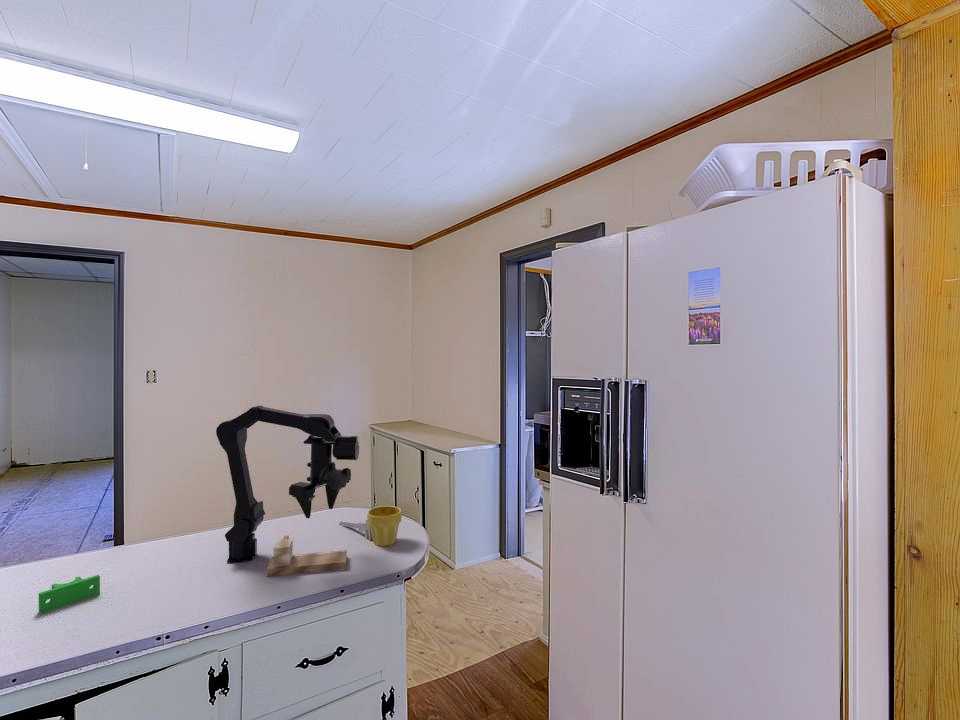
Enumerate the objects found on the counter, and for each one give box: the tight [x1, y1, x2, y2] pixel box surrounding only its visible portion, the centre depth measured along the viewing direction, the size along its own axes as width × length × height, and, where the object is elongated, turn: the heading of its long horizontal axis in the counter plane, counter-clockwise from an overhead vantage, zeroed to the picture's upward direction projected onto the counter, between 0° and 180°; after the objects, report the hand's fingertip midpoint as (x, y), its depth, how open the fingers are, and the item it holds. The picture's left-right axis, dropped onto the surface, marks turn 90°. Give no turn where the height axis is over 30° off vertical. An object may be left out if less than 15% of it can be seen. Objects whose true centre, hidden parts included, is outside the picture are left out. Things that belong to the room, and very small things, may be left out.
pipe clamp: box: [38, 574, 101, 614], centre depth 117 cm, size 11×4×5 cm, turn 145°
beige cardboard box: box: [272, 535, 294, 567], centre depth 136 cm, size 4×9×5 cm, turn 13°
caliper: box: [338, 519, 373, 541], centre depth 162 cm, size 20×1×6 cm, turn 44°
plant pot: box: [366, 505, 403, 547], centre depth 153 cm, size 10×10×10 cm
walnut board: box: [266, 549, 348, 578], centre depth 136 cm, size 20×8×2 cm, turn 103°
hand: (319, 513), depth 142 cm, fingers open, 9 cm apart
